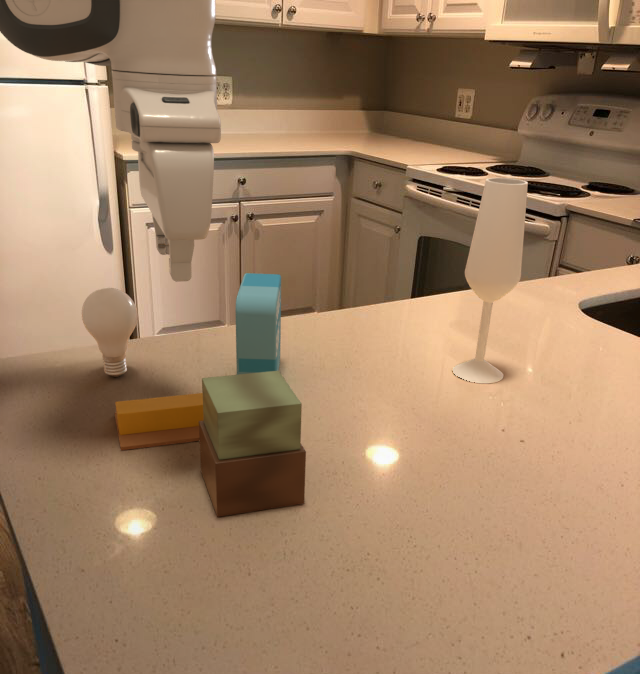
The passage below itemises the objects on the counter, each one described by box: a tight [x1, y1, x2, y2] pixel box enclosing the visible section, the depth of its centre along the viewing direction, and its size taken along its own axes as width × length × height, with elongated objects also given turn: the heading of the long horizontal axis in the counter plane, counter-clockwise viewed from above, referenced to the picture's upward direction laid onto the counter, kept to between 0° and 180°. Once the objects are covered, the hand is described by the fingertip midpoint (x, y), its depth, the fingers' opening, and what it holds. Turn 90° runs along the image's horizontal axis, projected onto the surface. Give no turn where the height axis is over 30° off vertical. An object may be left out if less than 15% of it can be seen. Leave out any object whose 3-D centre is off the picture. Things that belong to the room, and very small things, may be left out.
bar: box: [114, 392, 204, 435], centre depth 76 cm, size 14×3×2 cm, turn 109°
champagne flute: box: [452, 177, 529, 384], centre depth 87 cm, size 7×7×24 cm
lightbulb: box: [81, 287, 139, 378], centre depth 85 cm, size 6×6×11 cm
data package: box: [235, 272, 282, 375], centre depth 86 cm, size 12×4×12 cm, turn 0°
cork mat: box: [114, 412, 200, 451], centre depth 77 cm, size 14×8×1 cm, turn 109°
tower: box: [199, 370, 307, 518], centre depth 64 cm, size 8×8×10 cm
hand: (173, 265), depth 69 cm, fingers open, 8 cm apart
